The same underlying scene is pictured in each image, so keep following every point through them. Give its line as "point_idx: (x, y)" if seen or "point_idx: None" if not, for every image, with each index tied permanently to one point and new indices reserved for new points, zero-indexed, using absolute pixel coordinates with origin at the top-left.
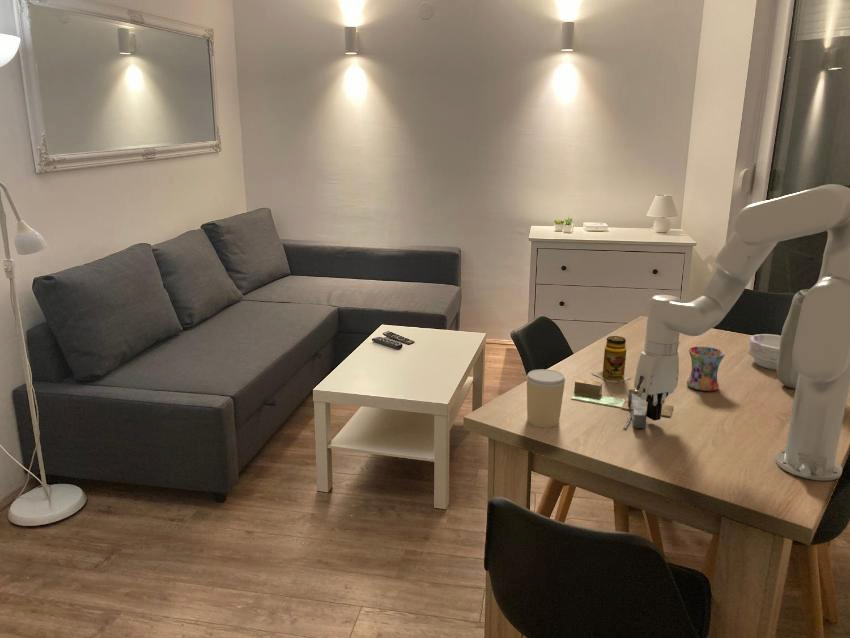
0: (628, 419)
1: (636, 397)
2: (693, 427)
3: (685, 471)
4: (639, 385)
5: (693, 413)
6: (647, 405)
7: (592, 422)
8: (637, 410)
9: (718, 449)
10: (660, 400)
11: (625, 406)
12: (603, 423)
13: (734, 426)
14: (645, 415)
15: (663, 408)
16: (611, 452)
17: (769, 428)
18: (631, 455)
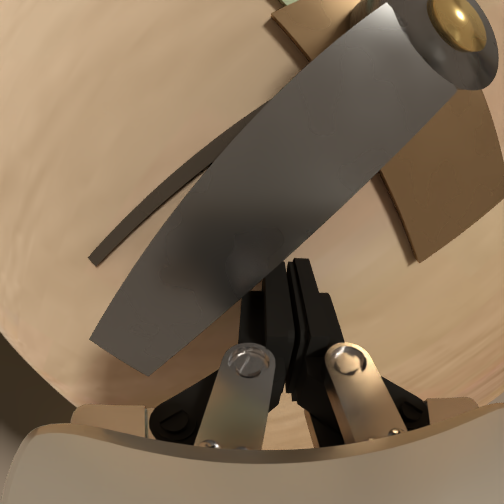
0: (169, 184)
1: (359, 89)
2: (385, 353)
3: None
4: (82, 494)
5: (495, 270)
6: (267, 307)
7: (16, 138)
8: (134, 316)
9: (294, 431)
10: (309, 418)
11: (313, 16)
12: (43, 163)
13: (458, 368)
14: (146, 371)
15: (472, 182)
16: (25, 335)
17: (477, 382)
18: (62, 367)
